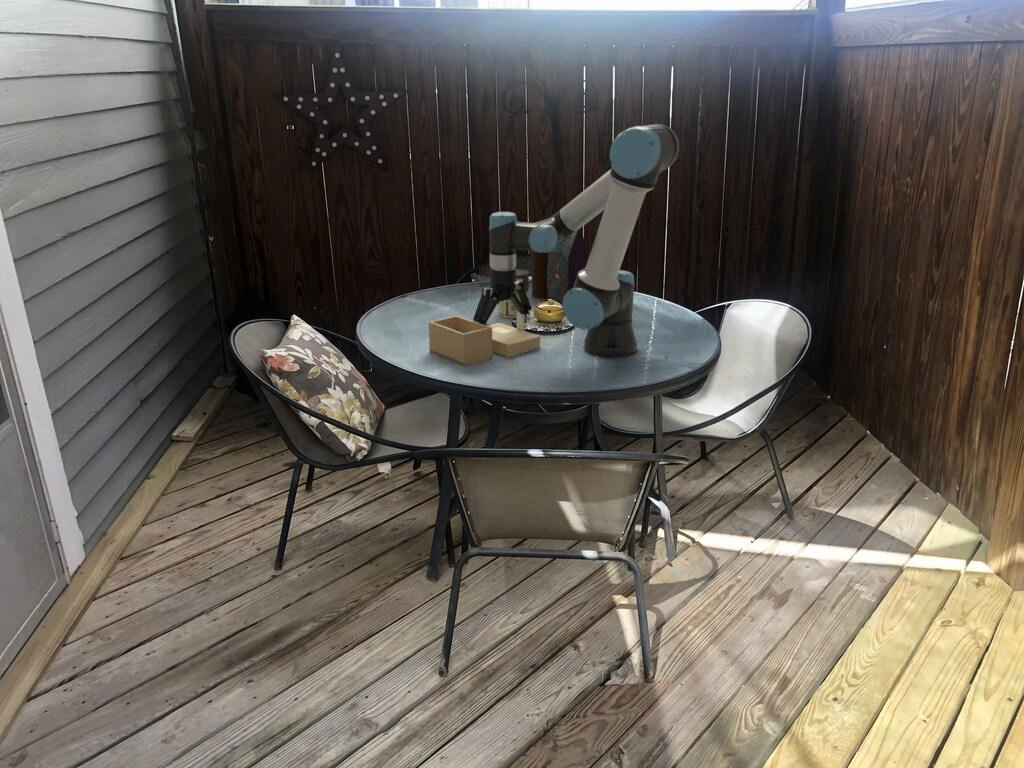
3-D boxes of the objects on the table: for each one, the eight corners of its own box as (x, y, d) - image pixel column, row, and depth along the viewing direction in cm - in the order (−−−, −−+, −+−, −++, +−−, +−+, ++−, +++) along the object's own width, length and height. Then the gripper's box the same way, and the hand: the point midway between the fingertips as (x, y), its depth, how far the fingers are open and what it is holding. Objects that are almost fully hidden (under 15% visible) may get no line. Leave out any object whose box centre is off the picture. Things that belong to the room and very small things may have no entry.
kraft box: (492, 358, 235) (492, 327, 232) (464, 366, 229) (463, 334, 225) (457, 345, 246) (456, 315, 243) (429, 352, 240) (428, 321, 237)
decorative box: (566, 298, 296) (568, 218, 286) (589, 309, 282) (592, 226, 272) (545, 300, 292) (546, 220, 282) (567, 312, 278) (569, 228, 268)
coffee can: (517, 308, 284) (517, 267, 279) (535, 315, 276) (535, 273, 271) (491, 312, 278) (491, 271, 273) (508, 320, 270) (508, 277, 265)
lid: (540, 348, 243) (540, 335, 242) (508, 357, 236) (508, 344, 234) (499, 334, 256) (499, 322, 255) (467, 342, 249) (467, 330, 247)
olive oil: (534, 299, 294) (535, 228, 285) (527, 292, 304) (527, 222, 295) (563, 297, 296) (565, 226, 288) (555, 290, 306) (556, 221, 297)
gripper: (526, 259, 248) (526, 328, 256) (459, 272, 233) (461, 345, 240) (544, 263, 243) (543, 333, 250) (477, 277, 227) (478, 351, 235)
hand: (503, 339), depth 245 cm, fingers open, 13 cm apart
